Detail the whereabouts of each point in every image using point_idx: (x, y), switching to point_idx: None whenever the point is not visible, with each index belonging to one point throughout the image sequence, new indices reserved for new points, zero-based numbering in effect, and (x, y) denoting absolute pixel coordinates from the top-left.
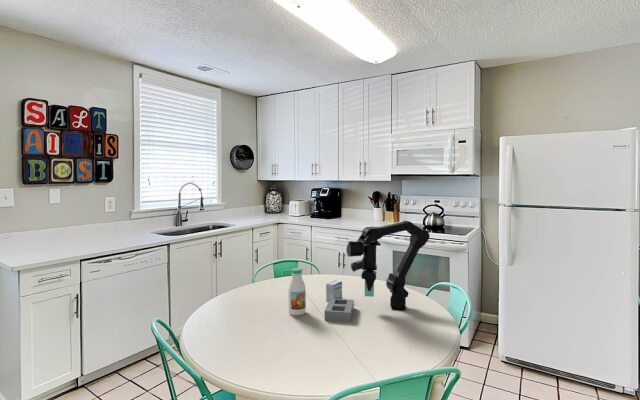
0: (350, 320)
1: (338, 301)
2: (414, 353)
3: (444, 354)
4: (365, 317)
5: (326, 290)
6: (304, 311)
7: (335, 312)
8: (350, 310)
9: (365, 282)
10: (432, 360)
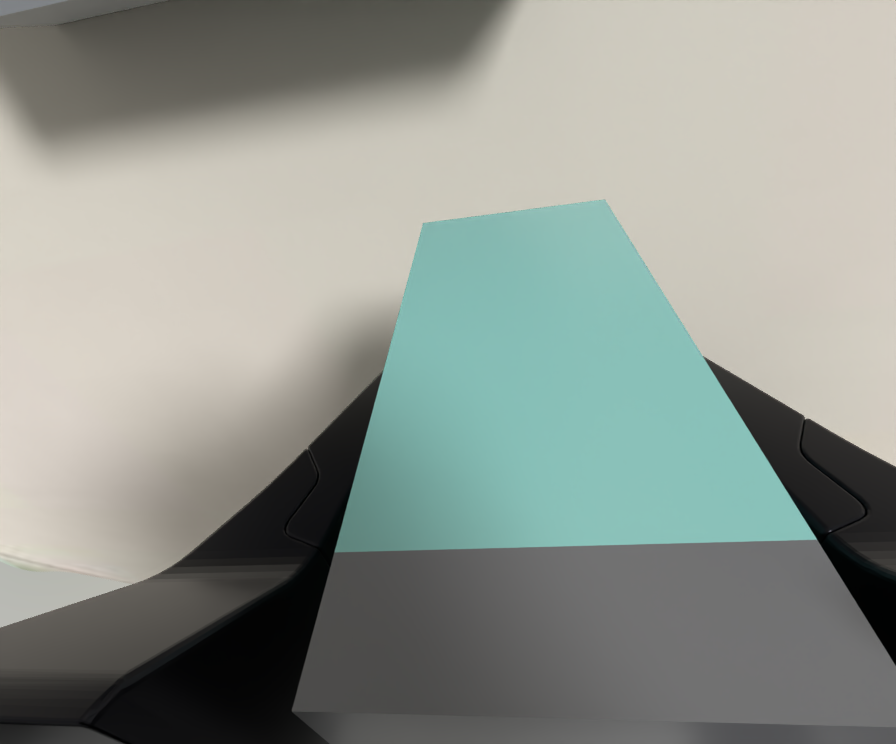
0: (65, 21)
1: None
2: (13, 504)
3: (110, 574)
4: (296, 190)
5: None
6: None
7: None
8: (15, 2)
9: (378, 436)
10: (23, 547)
